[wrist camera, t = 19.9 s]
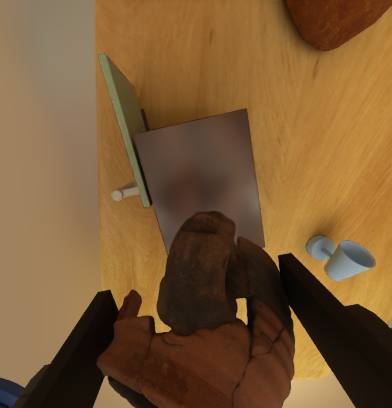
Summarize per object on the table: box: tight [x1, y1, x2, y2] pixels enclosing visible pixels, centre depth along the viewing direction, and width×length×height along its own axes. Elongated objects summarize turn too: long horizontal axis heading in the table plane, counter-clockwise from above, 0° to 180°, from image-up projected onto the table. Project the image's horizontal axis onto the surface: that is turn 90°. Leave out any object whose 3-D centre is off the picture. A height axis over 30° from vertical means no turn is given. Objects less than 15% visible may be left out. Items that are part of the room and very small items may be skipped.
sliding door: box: [98, 53, 152, 208], centre depth 25 cm, size 5×16×10 cm, turn 12°
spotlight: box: [306, 235, 376, 281], centre depth 32 cm, size 5×10×7 cm
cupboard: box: [133, 109, 265, 255], centre depth 27 cm, size 14×21×12 cm, turn 12°
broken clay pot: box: [96, 211, 295, 408], centre depth 10 cm, size 12×10×8 cm
